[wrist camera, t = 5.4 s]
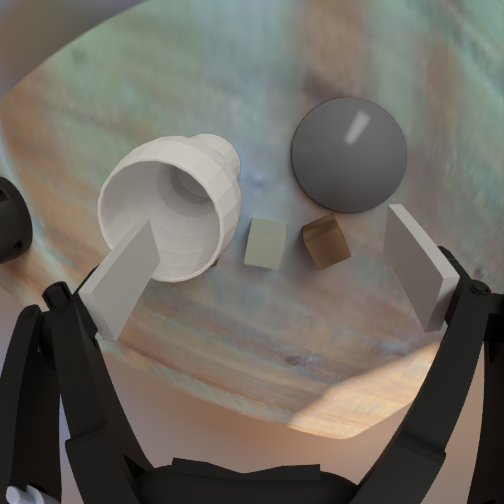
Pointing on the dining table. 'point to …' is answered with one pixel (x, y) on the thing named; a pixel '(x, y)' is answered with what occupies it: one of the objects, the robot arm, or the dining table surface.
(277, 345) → the dining table surface
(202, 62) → the dining table surface
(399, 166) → the coaster
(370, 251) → the dining table surface
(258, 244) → the block
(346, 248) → the block
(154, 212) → the cup
